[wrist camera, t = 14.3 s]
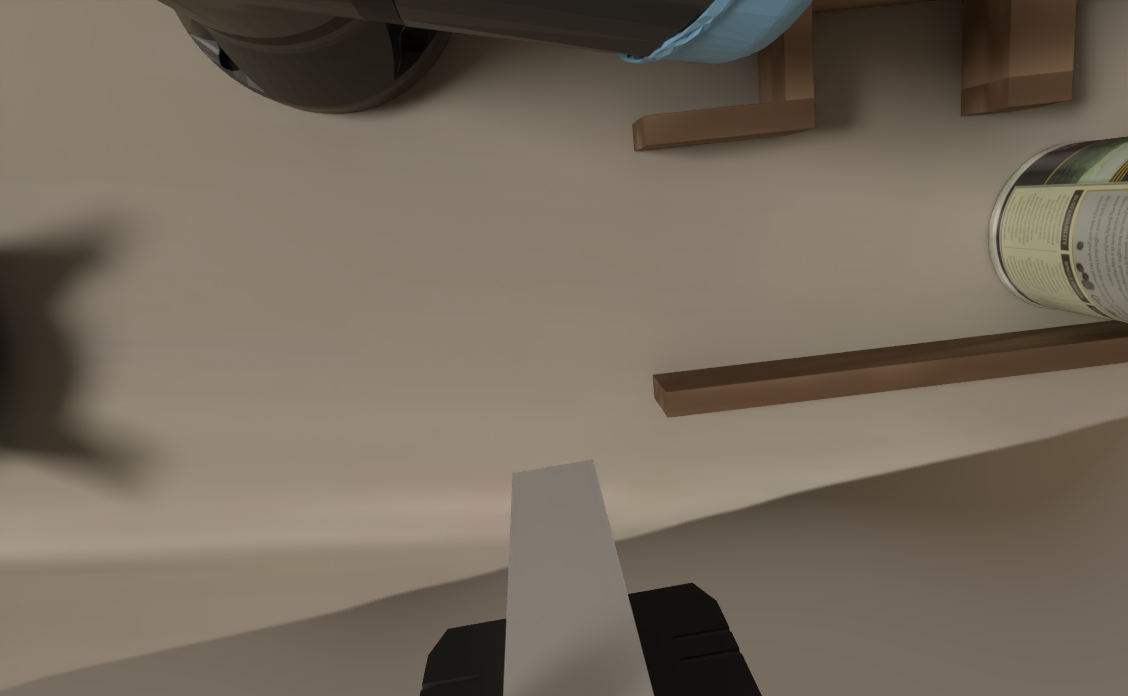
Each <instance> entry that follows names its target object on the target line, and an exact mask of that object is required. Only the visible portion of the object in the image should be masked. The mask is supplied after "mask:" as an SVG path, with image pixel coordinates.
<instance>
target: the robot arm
mask: <svg viewBox="0 0 1128 696" xmlns="http://www.w3.org/2000/svg"><path fill="white" fill-rule="evenodd" d="M158 1H160V2H162V3H163V4H165V5H167V6H169V7H171V8H173V9H174V10H175V12H176V14H177V15H178V17H179V19H180V21H181V23H182V24H183V26H184V27H185V29H186V30H187V32H188V33H189V35H190V36H191V37H192V39H193V40H194V41H195V43H196V44H197V45H198V46H199V47H200V49H201V50H202V51H203V52H204V53H205V54H206V55H207V56H208V57H209V58H210V59H211V60H212V61H213V62H214V63H215V64H216V65H217V66H218V67H219V68H220V69H222V70H223V71H224V72H225V73H226V74H228V75H229V76H230V77H232V78H233V79H234V80H236V81H237V82H239V83H240V84H242V85H243V86H245V87H247V88H248V89H250V90H252V91H254V92H256V93H258V94H260V95H262V96H264V97H267V98H269V99H271V100H274V101H276V102H279V103H281V104H284V105H286V106H289V107H293V108H296V109H300V110H304V111H310V112H316V113H332V114H337V113H349V112H356V111H361V110H365V109H369V108H372V107H375V106H378V105H380V104H383V103H385V102H387V101H389V100H391V99H393V98H395V97H397V96H398V95H400V94H402V93H403V92H405V91H406V90H407V89H409V88H410V87H412V86H413V85H414V84H415V83H416V82H417V81H419V80H420V79H421V78H422V77H423V76H424V75H425V74H426V73H427V72H428V70H429V69H430V68H431V67H432V66H433V64H434V63H435V62H436V60H437V59H438V58H439V56H440V55H441V53H442V51H443V50H444V48H445V46H446V44H447V42H448V40H449V39H450V36H451V34H452V32H454V33H462V34H470V35H477V36H485V37H493V38H501V39H508V40H516V41H524V42H531V43H539V44H547V45H554V46H562V47H570V48H577V49H585V50H593V51H600V52H608V53H616V54H617V56H618V57H619V58H620V59H621V60H623V61H626V62H629V63H635V64H645V63H646V62H656V61H659V60H672V61H684V62H696V63H708V64H722V63H728V62H732V61H735V60H737V59H739V58H743V57H747V56H749V55H750V54H752V53H755V52H758V51H760V50H762V49H764V48H765V47H766V46H768V45H769V44H770V43H772V42H773V41H774V40H776V39H777V38H778V37H779V36H780V35H781V34H783V33H784V32H785V31H786V30H787V29H788V28H789V27H790V26H791V25H792V24H793V23H794V22H795V21H796V20H797V19H798V18H799V17H800V15H801V14H802V13H803V12H804V11H805V10H806V8H807V7H808V6H809V5H810V4H811V2H812V1H813V0H158ZM507 597H508V599H507V618H506V619H501V620H495V621H490V622H485V623H479V624H473V625H467V626H462V627H456V628H451V629H447V631H446V632H445V634H444V635H443V636H442V638H441V639H440V640H439V642H438V643H437V644H436V646H435V647H434V648H433V650H432V651H431V653H430V654H429V655H428V659H427V664H426V668H425V673H424V678H423V683H422V687H423V690H421V692H420V696H762V695H761V693H760V691H759V689H758V687H757V685H756V683H755V680H754V678H753V676H752V674H751V672H750V670H749V668H748V666H747V664H746V662H745V659H744V657H743V655H742V654H740V651H739V647H738V645H737V643H736V641H735V638H734V636H733V634H732V632H730V630H729V626H728V624H727V622H726V619H725V617H724V615H723V613H722V611H721V609H720V607H719V605H718V603H717V601H716V600H715V599H713V598H712V597H711V596H709V595H708V594H707V593H705V592H704V591H703V590H701V589H700V588H699V587H697V586H696V585H695V584H693V583H688V584H683V585H677V586H671V587H665V588H661V589H654V590H649V591H643V592H637V593H632V594H627V590H626V586H625V582H624V578H623V574H622V570H621V567H620V563H619V559H618V555H617V551H616V547H615V544H614V540H613V536H612V532H611V528H610V524H609V520H608V517H607V513H606V509H605V505H604V501H603V497H602V493H601V490H600V486H599V482H598V478H597V474H596V470H595V467H594V463H593V460H588V461H582V462H576V463H570V464H565V465H559V466H553V467H547V468H542V469H536V470H530V471H524V472H519V473H513V478H512V501H511V525H510V548H509V572H508V595H507Z"/></svg>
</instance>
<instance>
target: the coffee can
mask: <svg viewBox="0 0 1128 696" xmlns="http://www.w3.org/2000/svg"><path fill="white" fill-rule="evenodd" d="M989 252H990V256H991V259H992V262H993V264H994V268H995V270H996V273H997V274H998V276H999V278H1000V279H1001V281H1002V282H1003V284H1004V285H1005V286H1006V287H1007V288H1008V289H1009V290H1010V291H1011V292H1012V293H1013V294H1014V295H1016V296H1017V297H1019V298H1020V299H1022V300H1023V301H1024V302H1026V303H1029V304H1032V305H1035V306H1037V307H1041V308H1046V309H1059V310H1064V311H1069V312H1075V313H1080V314H1085V315H1090V316H1095V317H1100V318H1106V319H1111V320H1116V321H1121V322H1126V323H1128V137H1121V138H1113V139H1105V140H1096V141H1076V142H1068V143H1063V144H1059V145H1056V146H1053V147H1051V148H1048V149H1046V150H1044V151H1042V152H1040V153H1039V154H1037V155H1035V156H1034V157H1032V158H1031V159H1030V160H1028V161H1027V162H1026V163H1025V164H1023V165H1022V166H1021V167H1020V168H1019V169H1018V170H1017V171H1016V172H1015V173H1014V174H1013V175H1012V177H1011V178H1010V179H1009V181H1008V182H1007V183H1006V185H1005V186H1004V188H1003V189H1002V191H1001V193H1000V194H999V197H998V199H997V201H996V204H995V206H994V209H993V213H992V216H991V220H990V227H989Z"/></svg>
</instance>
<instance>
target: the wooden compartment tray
mask: <svg viewBox="0 0 1128 696" xmlns="http://www.w3.org/2000/svg"><path fill="white" fill-rule="evenodd" d="M922 1H932V0H813V1H812V2H811V4H810V5H809V6H808V7H807V8H806V10H805V11H804V12H803V13H802V14H801V15H800V17H799V18H798V19H797V20H796V21H795V22H794V23H793V24H792V25H791V26H790V27H789V28H788V29H787V30H786V31H785V32H784V33H783V34H781V35H780V36H779V37H778V38H777V39H776V40H774V41H773V42H772V43H770V44H769V45H768V46H766V47H765V48H764V49H762V50H760V51H758V68H759V92H760V104H750V105H741V106H731V107H722V108H712V109H703V110H693V111H684V112H674V113H665V114H655V115H646V116H643V117H642V118H640V119H639V120H638V121H636V122H635V123H634V124H632V126H633V138H634V150H635V151H642V150H651V149H660V148H670V147H679V146H688V145H698V144H707V143H716V142H726V141H735V140H744V139H754V138H763V137H772V136H782V135H788V134H792V133H796V132H800V131H804V130H808V129H811V128H815V103H814V66H813V29H812V13H813V12H823V11H833V10H843V9H853V8H863V7H873V6H883V5H893V4H903V3H912V2H922ZM1076 2H1077V0H963V39H962V98H961V116H969V115H978V114H987V113H997V112H1006V111H1015V110H1022V109H1027V108H1033V107H1038V106H1043V105H1049V104H1054V103H1059V102H1064V101H1070V100H1072V83H1073V63H1074V42H1075V22H1076ZM1125 362H1128V323H1126V322H1121V321H1116V320H1114V321H1105V322H1097V323H1088V324H1080V325H1071V326H1063V327H1055V328H1046V329H1038V330H1029V331H1021V332H1012V333H1004V334H995V335H987V336H978V337H970V338H962V339H953V340H945V341H936V342H928V343H919V344H911V345H902V346H894V347H885V348H877V349H869V350H860V351H852V352H843V353H835V354H826V355H818V356H809V357H801V358H793V359H784V360H776V361H767V362H759V363H750V364H742V365H733V366H725V367H716V368H708V369H700V370H691V371H683V372H674V373H666V374H657V375H653V384H654V396H655V399H656V401H657V402H658V404H659V405H660V407H661V408H662V410H663V411H664V413H665V414H666V416H667V417H668V418H669V417H677V416H685V415H693V414H702V413H710V412H718V411H727V410H735V409H743V408H751V407H760V406H768V405H776V404H785V403H793V402H801V401H810V400H818V399H826V398H834V397H843V396H851V395H859V394H868V393H876V392H884V391H893V390H901V389H909V388H917V387H926V386H934V385H942V384H951V383H959V382H967V381H976V380H984V379H992V378H1000V377H1009V376H1017V375H1025V374H1034V373H1042V372H1050V371H1058V370H1067V369H1075V368H1083V367H1092V366H1100V365H1108V364H1117V363H1125Z"/></svg>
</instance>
